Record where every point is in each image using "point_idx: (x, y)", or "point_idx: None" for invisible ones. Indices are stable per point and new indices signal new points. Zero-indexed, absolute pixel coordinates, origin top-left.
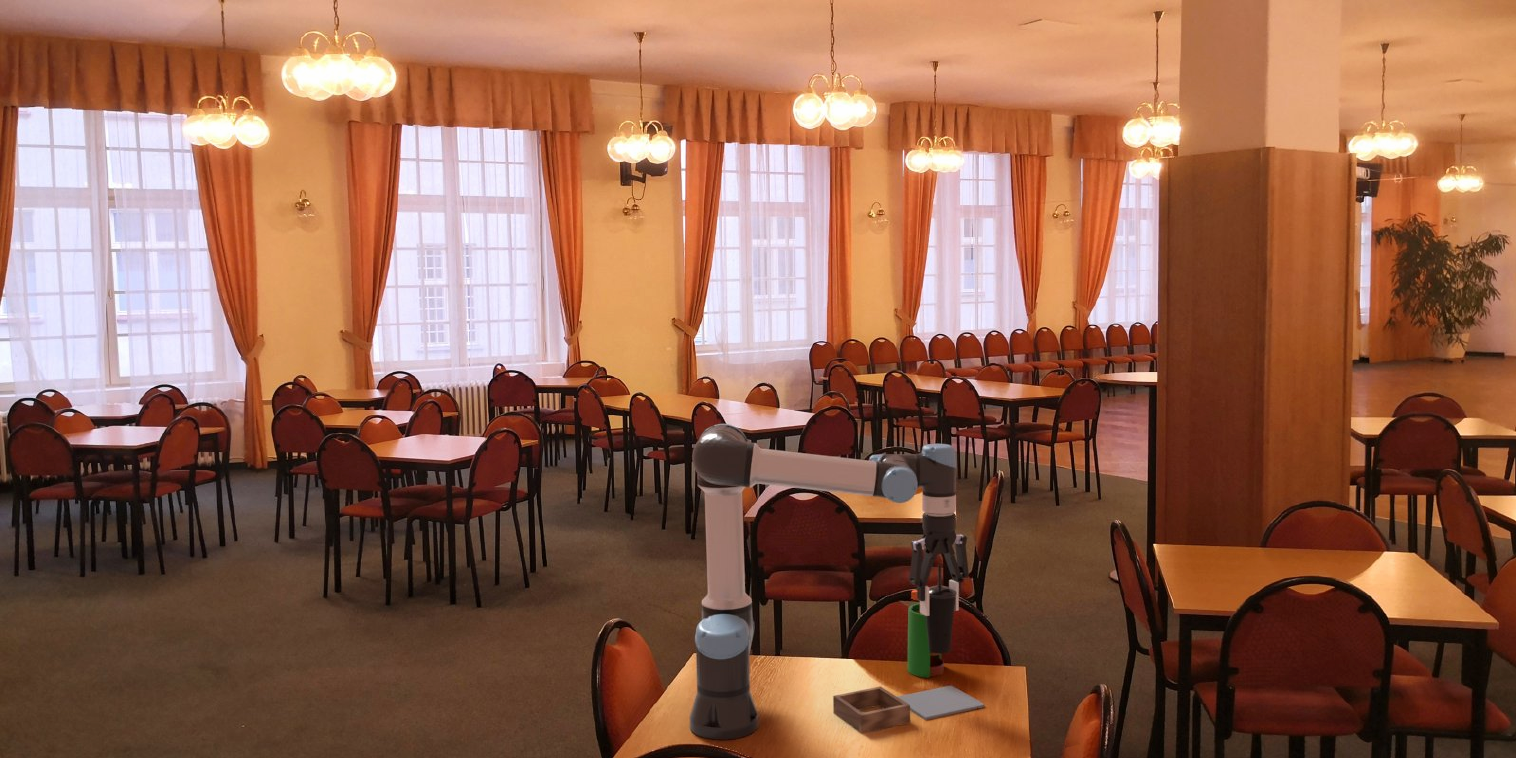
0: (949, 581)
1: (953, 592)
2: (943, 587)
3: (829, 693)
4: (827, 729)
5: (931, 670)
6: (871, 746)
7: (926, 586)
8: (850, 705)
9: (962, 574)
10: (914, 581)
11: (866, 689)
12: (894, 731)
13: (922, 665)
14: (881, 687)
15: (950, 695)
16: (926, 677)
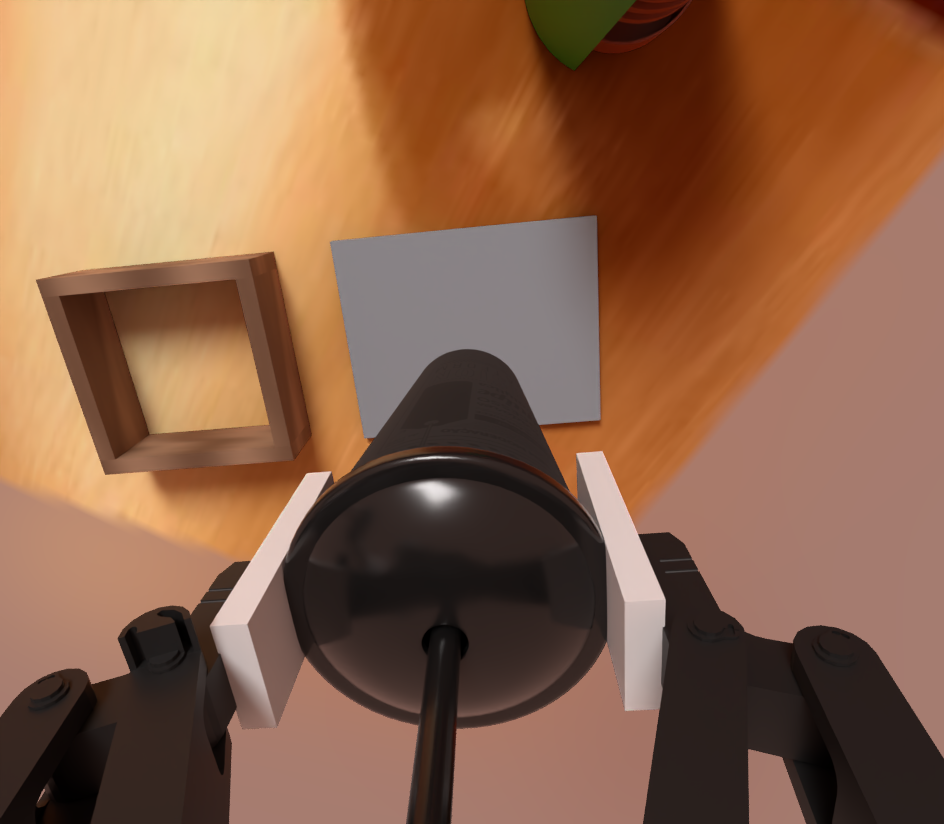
0: (620, 601)
1: (547, 688)
2: (473, 670)
3: (101, 70)
4: (40, 384)
5: (598, 45)
6: (148, 528)
7: (261, 693)
8: (85, 387)
9: (776, 751)
10: (44, 801)
11: (182, 268)
12: (242, 470)
13: (554, 37)
14: (248, 272)
15: (536, 307)
16: (562, 62)
